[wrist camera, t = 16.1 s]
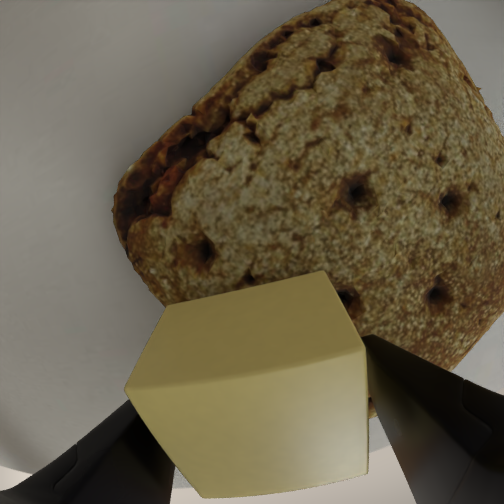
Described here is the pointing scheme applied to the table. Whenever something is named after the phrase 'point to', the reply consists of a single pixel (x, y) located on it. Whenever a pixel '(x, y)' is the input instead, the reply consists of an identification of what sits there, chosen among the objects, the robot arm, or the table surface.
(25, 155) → the table surface
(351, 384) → the butter pat
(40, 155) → the table surface
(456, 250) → the pastry
